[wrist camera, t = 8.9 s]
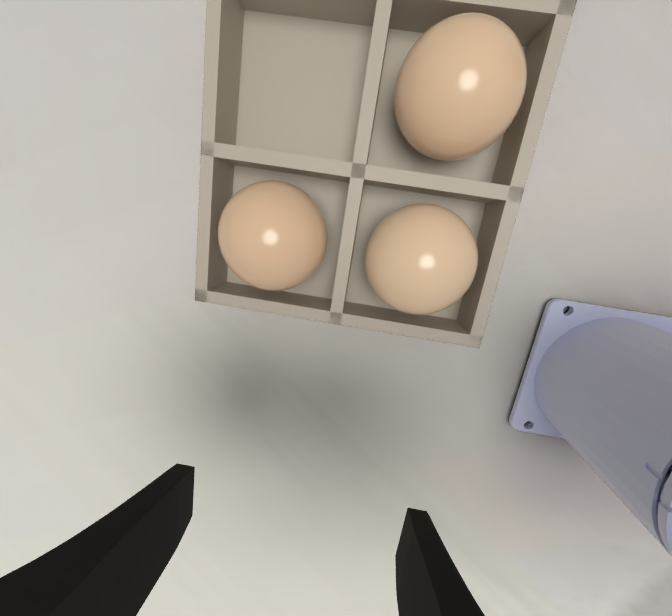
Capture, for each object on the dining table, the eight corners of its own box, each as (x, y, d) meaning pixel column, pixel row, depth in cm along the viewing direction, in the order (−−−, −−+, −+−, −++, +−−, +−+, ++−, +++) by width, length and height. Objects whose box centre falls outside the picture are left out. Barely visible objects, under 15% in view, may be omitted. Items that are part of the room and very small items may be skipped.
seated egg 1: (339, 193, 18) (328, 183, 13) (325, 287, 19) (311, 310, 14) (244, 179, 18) (199, 164, 13) (237, 272, 19) (194, 291, 14)
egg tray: (538, 38, 16) (577, -3, 13) (462, 328, 19) (479, 348, 16) (236, -1, 16) (208, -49, 13) (219, 288, 20) (194, 300, 17)
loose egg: (508, 60, 16) (576, -12, 11) (480, 175, 17) (530, 157, 12) (399, 44, 16) (419, -34, 11) (380, 160, 17) (389, 136, 12)
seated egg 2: (471, 213, 17) (512, 211, 12) (448, 307, 19) (477, 338, 14) (373, 198, 17) (376, 191, 13) (357, 292, 19) (354, 318, 14)
